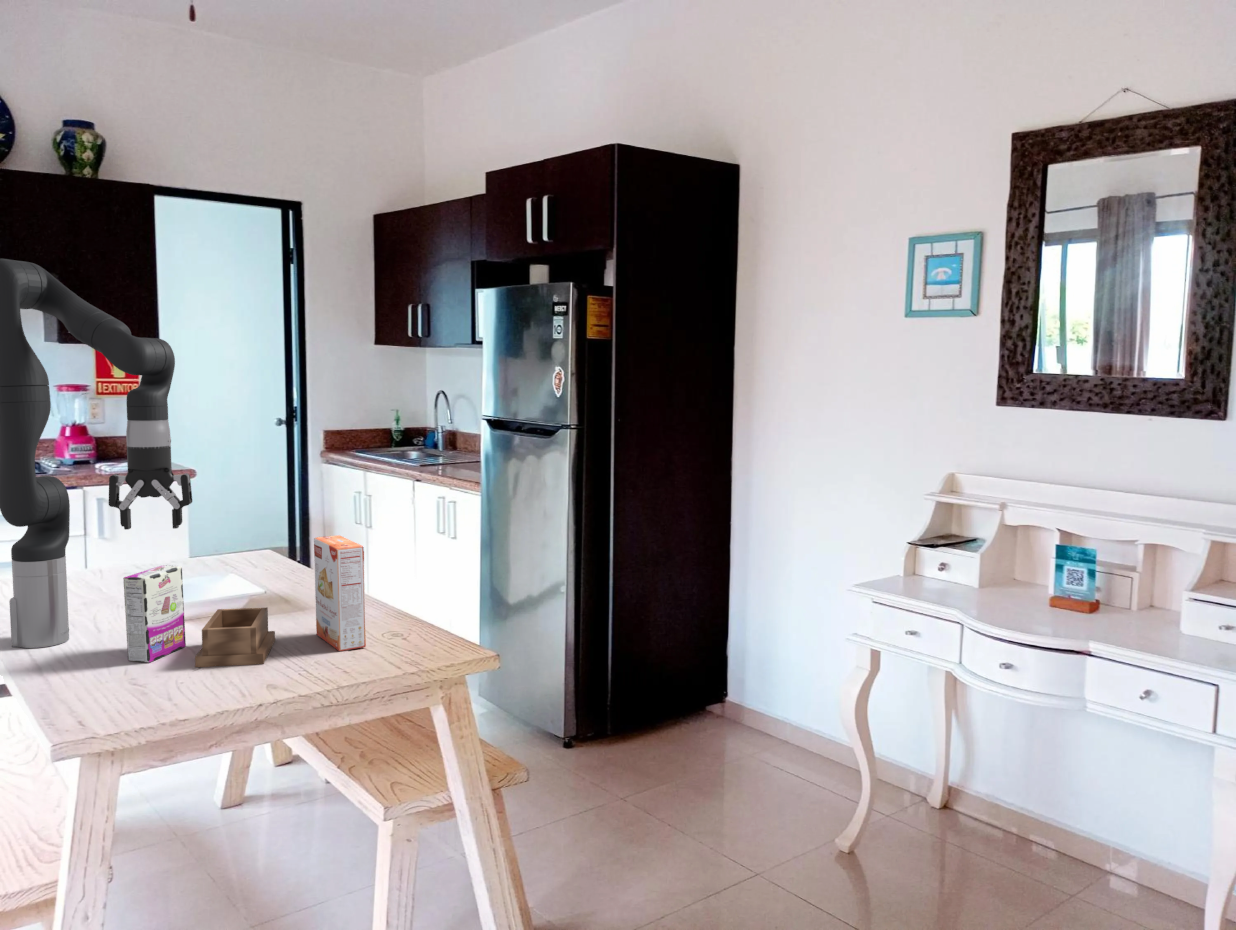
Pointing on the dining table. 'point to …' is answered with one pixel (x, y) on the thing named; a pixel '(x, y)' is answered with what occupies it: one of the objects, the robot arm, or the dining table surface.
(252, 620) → the walnut stand
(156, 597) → the candy bar box
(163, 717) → the dining table surface
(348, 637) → the cracker box
